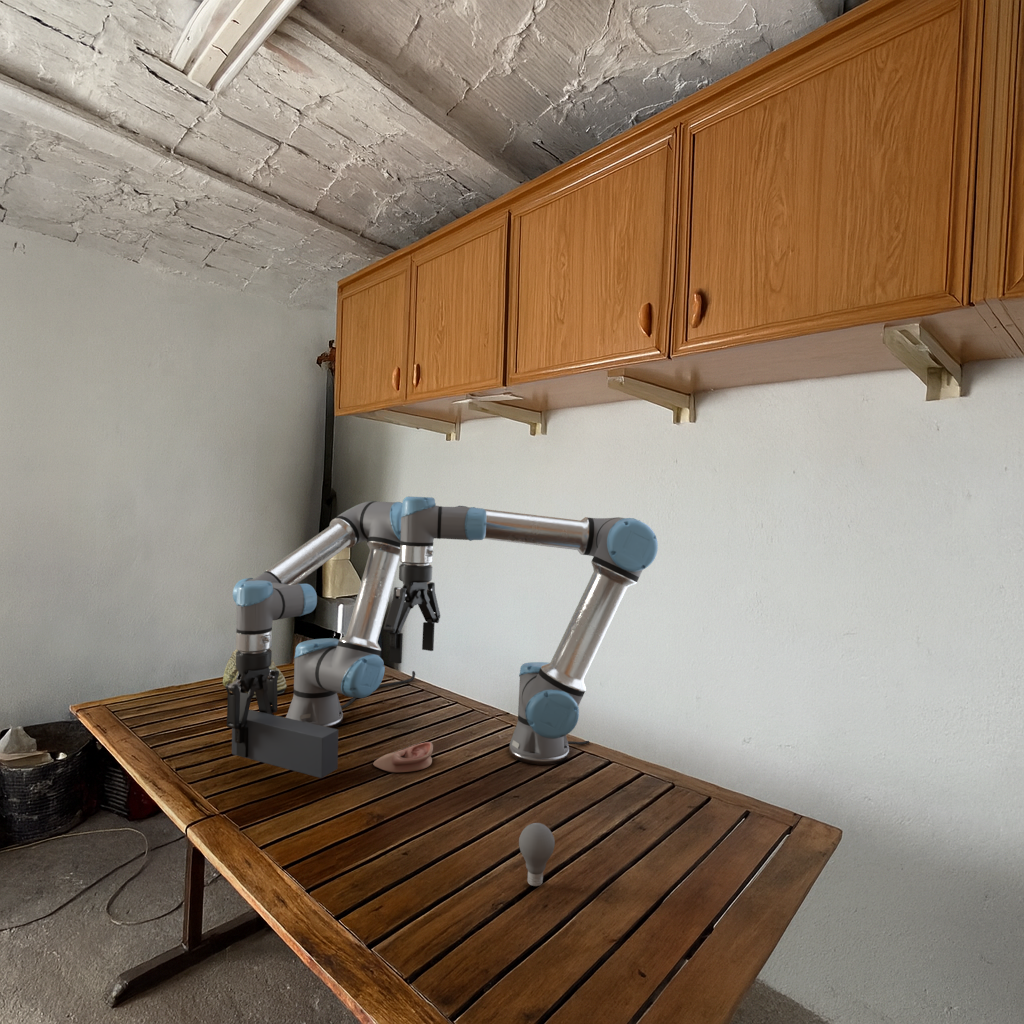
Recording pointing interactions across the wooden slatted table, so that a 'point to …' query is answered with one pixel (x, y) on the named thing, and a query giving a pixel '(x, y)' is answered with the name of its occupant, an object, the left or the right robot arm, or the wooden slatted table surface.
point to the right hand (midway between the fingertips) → (412, 656)
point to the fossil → (232, 674)
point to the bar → (291, 744)
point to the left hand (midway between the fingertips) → (252, 750)
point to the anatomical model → (407, 759)
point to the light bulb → (536, 850)
